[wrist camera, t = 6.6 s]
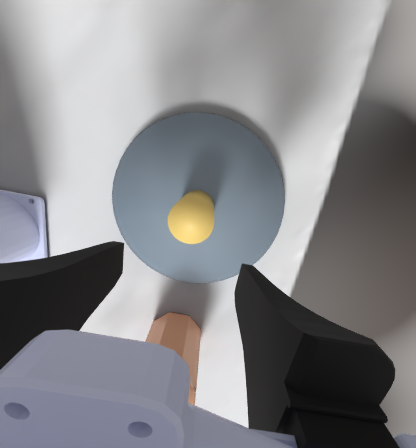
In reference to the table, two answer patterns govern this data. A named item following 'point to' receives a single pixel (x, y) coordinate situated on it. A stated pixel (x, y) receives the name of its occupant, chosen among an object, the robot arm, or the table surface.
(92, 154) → the table surface
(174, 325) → the tan piece
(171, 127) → the lid
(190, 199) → the capsule
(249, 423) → the robot arm
